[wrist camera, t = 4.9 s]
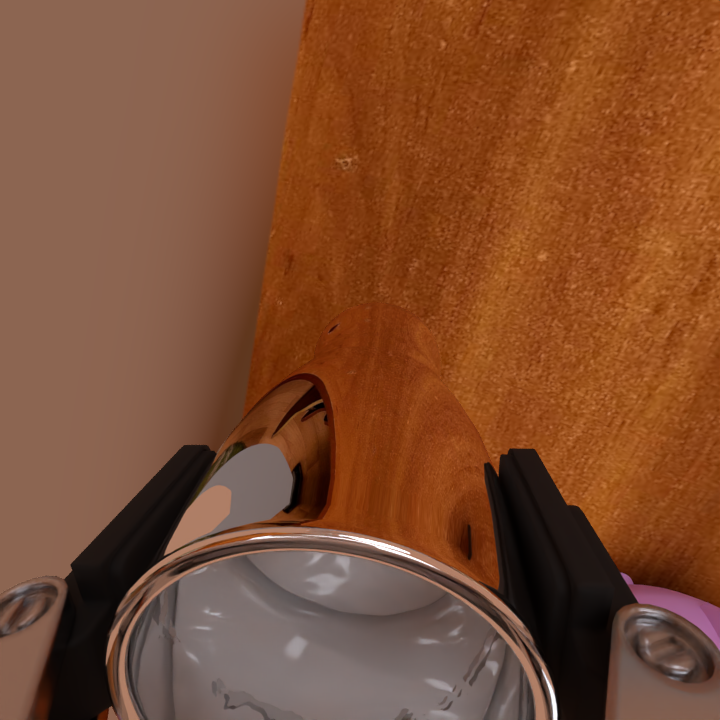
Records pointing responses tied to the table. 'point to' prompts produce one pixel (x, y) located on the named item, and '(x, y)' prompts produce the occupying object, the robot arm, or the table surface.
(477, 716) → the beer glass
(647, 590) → the teapot
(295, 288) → the table surface
